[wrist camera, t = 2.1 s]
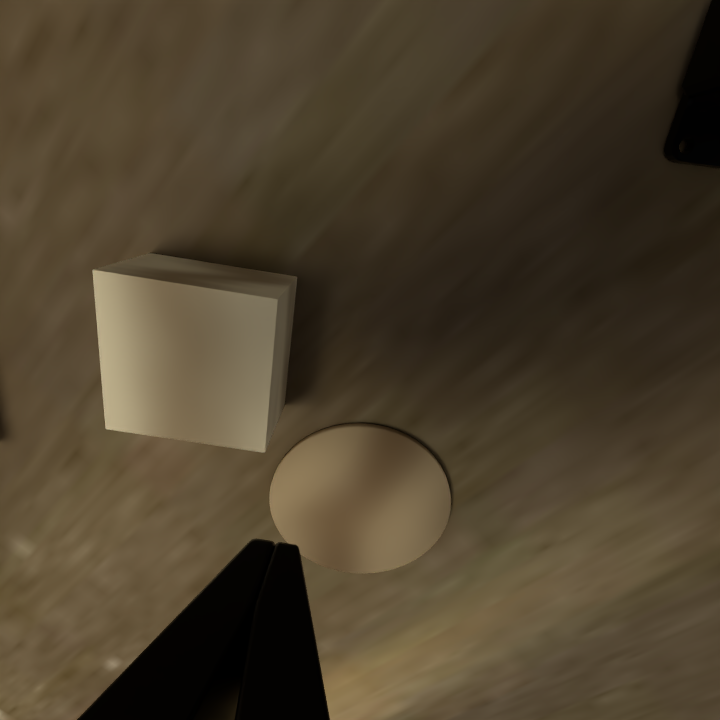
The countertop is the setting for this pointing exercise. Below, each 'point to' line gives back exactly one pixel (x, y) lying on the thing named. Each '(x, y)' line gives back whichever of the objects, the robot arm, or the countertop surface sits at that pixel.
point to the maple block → (194, 349)
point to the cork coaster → (360, 498)
